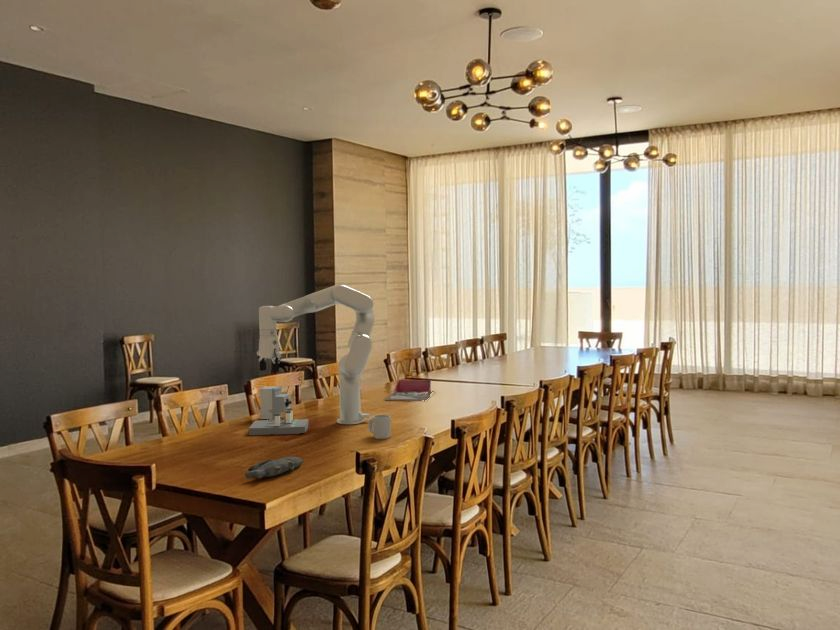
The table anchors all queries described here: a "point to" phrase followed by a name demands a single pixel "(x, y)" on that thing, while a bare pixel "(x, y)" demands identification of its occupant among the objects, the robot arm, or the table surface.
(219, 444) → the table surface
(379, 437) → the cup
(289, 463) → the grey rough slab
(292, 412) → the back lever
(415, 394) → the open laptop
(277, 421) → the lever
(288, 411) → the middle lever
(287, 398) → the circuit breaker
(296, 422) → the switch panel
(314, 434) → the table surface
